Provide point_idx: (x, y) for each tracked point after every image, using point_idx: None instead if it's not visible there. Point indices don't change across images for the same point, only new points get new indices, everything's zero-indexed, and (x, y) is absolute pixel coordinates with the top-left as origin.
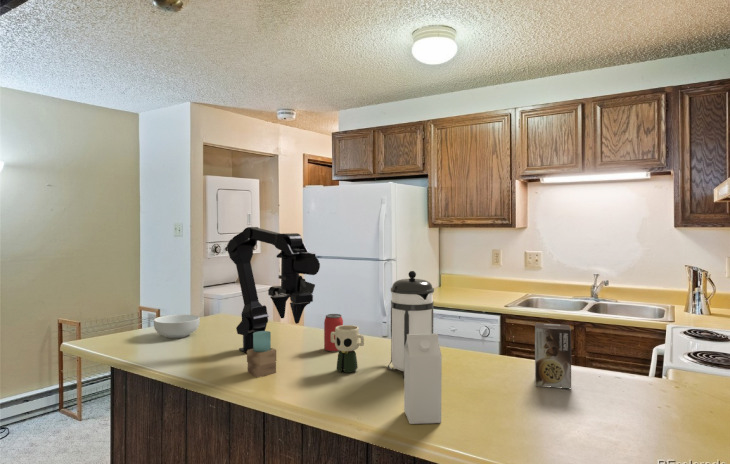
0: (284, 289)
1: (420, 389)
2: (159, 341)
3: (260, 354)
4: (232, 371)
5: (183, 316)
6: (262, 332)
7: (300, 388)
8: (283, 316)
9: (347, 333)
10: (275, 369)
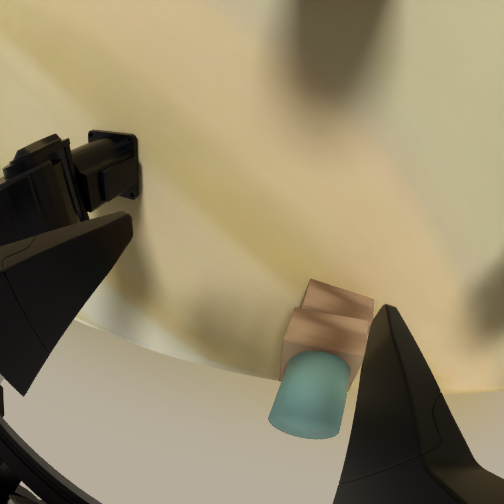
0: None
1: None
2: None
3: (347, 391)
4: (254, 327)
5: None
6: (300, 424)
7: (484, 347)
8: (122, 227)
9: None
10: (372, 308)
